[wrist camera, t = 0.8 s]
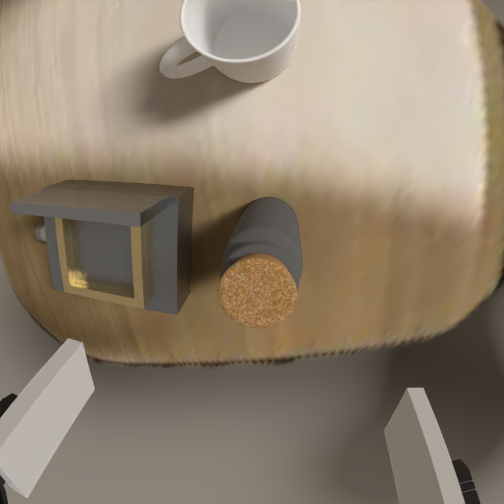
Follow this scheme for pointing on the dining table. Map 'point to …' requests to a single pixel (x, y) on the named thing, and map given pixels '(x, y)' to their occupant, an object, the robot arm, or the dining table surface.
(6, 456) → the robot arm
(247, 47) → the mug
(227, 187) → the dining table surface
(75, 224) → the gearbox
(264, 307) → the bottle
